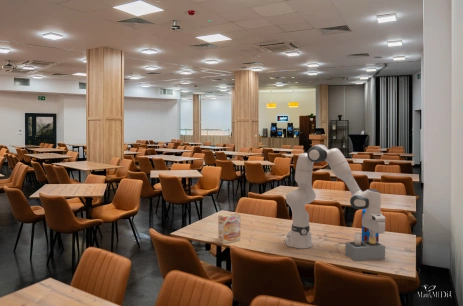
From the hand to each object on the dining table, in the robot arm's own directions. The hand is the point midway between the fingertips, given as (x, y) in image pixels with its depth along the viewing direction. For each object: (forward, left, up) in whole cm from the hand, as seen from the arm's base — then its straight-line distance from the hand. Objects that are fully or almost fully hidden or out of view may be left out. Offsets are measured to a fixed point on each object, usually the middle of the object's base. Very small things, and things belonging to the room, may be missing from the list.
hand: (372, 236), depth 232 cm
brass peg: (0, 0, -8) cm, 8 cm away
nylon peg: (0, -10, -5) cm, 11 cm away
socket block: (0, -5, -12) cm, 13 cm away
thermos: (-17, +9, -13) cm, 23 cm away
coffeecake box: (-48, -82, -13) cm, 96 cm away
